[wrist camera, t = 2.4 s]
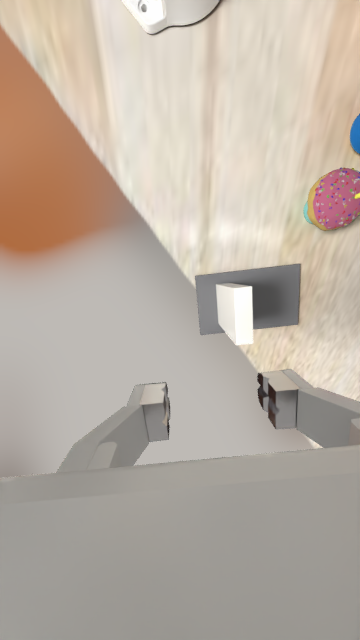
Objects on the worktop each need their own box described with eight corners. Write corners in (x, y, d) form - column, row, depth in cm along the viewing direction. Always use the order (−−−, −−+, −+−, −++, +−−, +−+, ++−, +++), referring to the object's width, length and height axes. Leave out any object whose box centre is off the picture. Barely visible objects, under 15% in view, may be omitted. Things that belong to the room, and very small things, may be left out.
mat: (200, 334, 39) (200, 335, 38) (195, 276, 36) (195, 275, 36) (296, 323, 38) (297, 324, 38) (298, 264, 36) (300, 263, 35)
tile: (218, 323, 38) (236, 345, 26) (215, 284, 36) (233, 288, 24) (230, 322, 38) (253, 343, 26) (228, 282, 36) (252, 286, 24)
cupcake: (347, 189, 33) (440, 141, 21) (329, 240, 35) (405, 221, 23) (301, 179, 32) (369, 124, 21) (285, 230, 34) (340, 207, 23)
